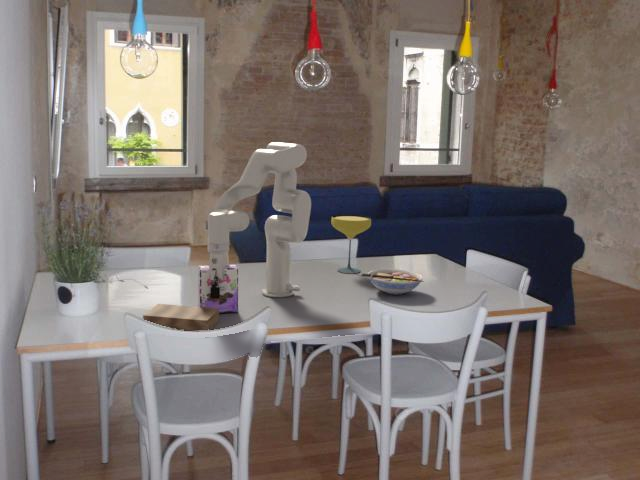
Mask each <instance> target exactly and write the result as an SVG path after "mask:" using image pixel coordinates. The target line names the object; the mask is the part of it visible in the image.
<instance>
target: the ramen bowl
mask: <svg viewBox="0 0 640 480" xmlns="http://www.w3.org/2000/svg"><path fill="white" fill-rule="evenodd" d="M360 276H361V277H367V278H368V279H369V281H370V283H371V284H372V285H373V286H374V287H375V288H377V289H378V290H380V291H381V292H384V293H386V294H388V295H392V294H395V296H398V294H400V295H403V294H405V293H408V292H411V291H413V290H415V289H416V288H417V287H418V286H419V285H420V284H421V283H422V282H424V280H423V279H424V278H423V275H422V274H420V273H417V272H415V271H411V270H406V269H399V268H397V269H395V268H379V269H374V270H373V269H372V270H371V271H368V272H367V273H362V274H361V275H360Z"/></svg>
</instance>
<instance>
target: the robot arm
mask: <svg viewBox="0 0 640 480" xmlns="http://www.w3.org/2000/svg"><path fill="white" fill-rule="evenodd" d="M307 154H308V153H307V149H306V148H305V147H304V145H303V144H300V143H291V142H281V141H275V142H270V143H268V144H267V146H266V147H265V148H258V149H256V150H255V151H253V153H252V154H251V156H250V158H249V160H248V162H247V165H246V166H245V168H244V170H243V172H242V174H241V177H240V179H239V180H238V182H236V183H234V184H233V185H232V186H231V187H229V188H228V189H227V190H225V192H224V193H222V194H221V196H220V197H219V199H218V200H217V202H216V204H215V206H214V208H213V211H212V212H210V213H209V214H208V215H207V252H208V253H209V260H208V261H209V263H208V264H209V265H208V266H209V278H210V281H211V282H210V284H211V286H210V287H211V298H217V299H219V298H220V287H219V282H220V280H224V279H225V267H227V266H228V265H230V261H229V259H230V258H229V252H230V232H243V231H245V230H246V229H247V228H248V227H249V224H250V216H249V214H247V213H246V211H243V210H238V209H233V207H234V206H235V205H236V204H238V203H239V202H240V201H242V200H244V199H247V198H250V197H252V196H255V195H257V194H259V193H260V192H261V190H262V188H263V186H264V184H265V182H266V180H267V177H268V175H269V174H270V173H271V174H275V175H274V177H275V178H274V185H273V194H272V200H271V201H272V202H271V203H272V208H273V209H274V210H275V211H277V212H280V213H281V212H282V213H286V214H291V216H287V215H279V214H274V215H270V216H269V217H268V218H267V219H266V220H265V224H264V233H265V240H266V241H265V242H266V262H265V263H266V265H265V267H266V268H265V287H264V288H262V289H261V294H262V295H263V296H265V297H270V298H286V297H291V296H293V294H294V292H300V291H301V286H299V285H293V284H292V281H291V259H292V257H291V256H292V254H291V253H292V251H291V246H290V244H289V242H290V243H302V242H303V241H304V240H305V239H306V237H307V234H308V231H309V224H310V217H311V210H312V199H311V196H310V194H309V193H308V192H307V191H305V190H301V189H297V182H298V175H297V170H296V169H298V168H299V167H301V166H302V165H304V163H306V160H307V156H308V155H307ZM215 277H218V279H215ZM215 281H217V283H216V282H215Z"/></svg>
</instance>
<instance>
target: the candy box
mask: <svg viewBox="0 0 640 480" xmlns="http://www.w3.org/2000/svg"><path fill="white" fill-rule="evenodd" d="M215 279H218V277H215ZM210 282H211V281H210V278H209V265H198V306H197V307H204V308H217V309H219V314H220V313H235V312H236V313H237V312H239V268H238V266H237V264H229V265H228V266H227V267H225V279H224V280H220V282H219V287H220V298H219V299H217V298H211V287H210V286H211V284H210ZM215 282H216V283H217V281H215Z"/></svg>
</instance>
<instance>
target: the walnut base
mask: <svg viewBox="0 0 640 480" xmlns="http://www.w3.org/2000/svg"><path fill="white" fill-rule="evenodd" d="M219 317H220V313H219V309H217V308H204V307H198V306H191V305H179V304H178V305H177V304H166V303H165V304H164V303H158V304H156V305H155V306H154V307H152V308H151V309H149V310H148V311H147V312H145V313H144V314H143V316H142V319H144V320H147V321H150V322H153V323H156V324H159V325H162V326H166V327H170V328H176V329H184V330H183V331H187V330H208V329H210V330H211V329H212V327H214V325H215V324H216V323H218V322H219V321H220V318H219Z"/></svg>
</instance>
